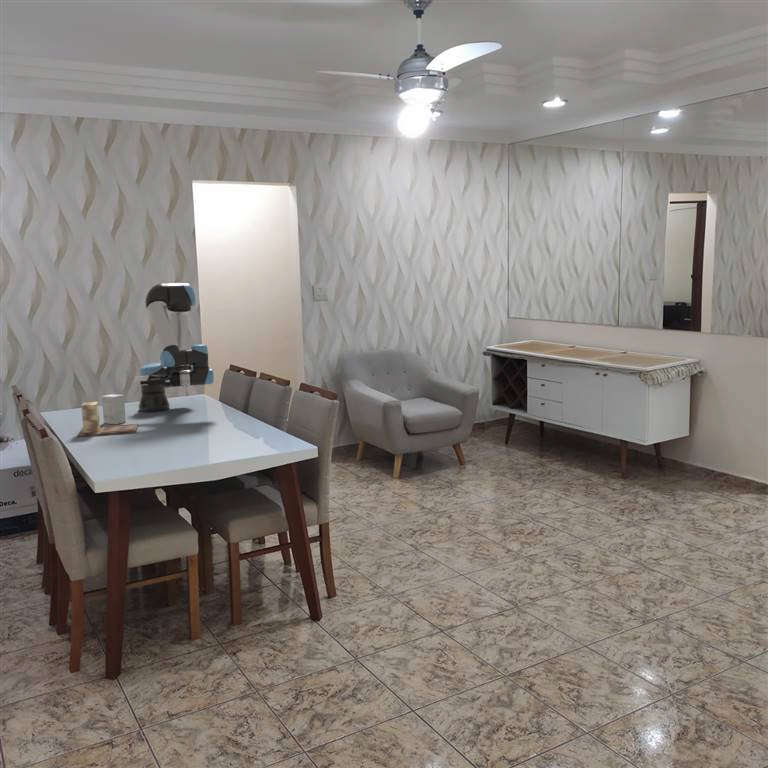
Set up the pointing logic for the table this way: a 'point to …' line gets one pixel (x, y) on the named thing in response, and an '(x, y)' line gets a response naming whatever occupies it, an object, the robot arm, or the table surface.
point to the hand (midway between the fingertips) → (133, 381)
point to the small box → (113, 409)
